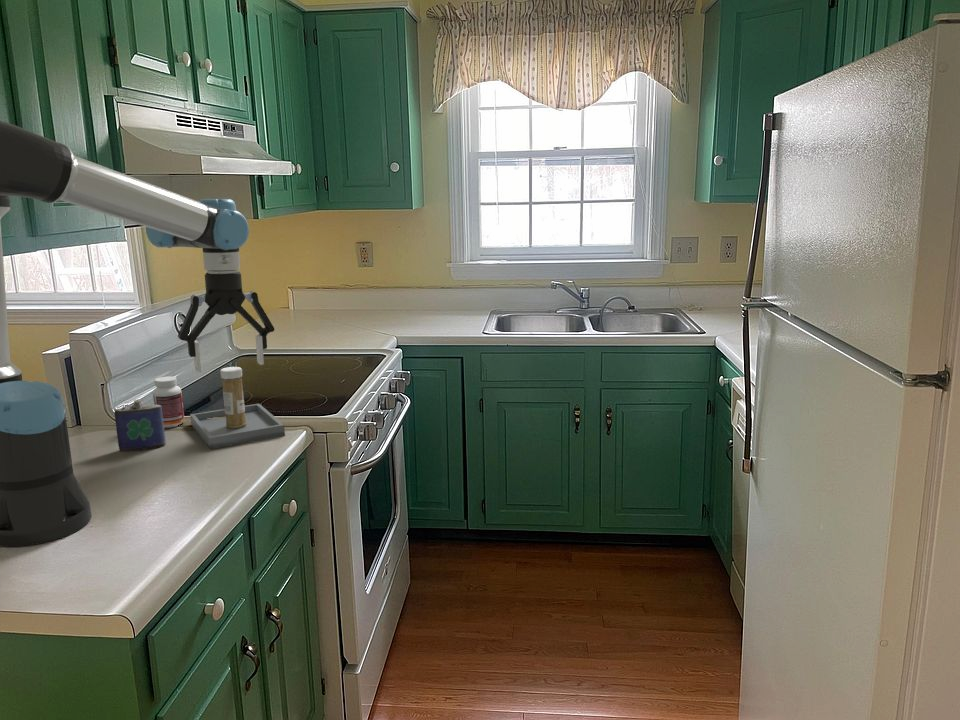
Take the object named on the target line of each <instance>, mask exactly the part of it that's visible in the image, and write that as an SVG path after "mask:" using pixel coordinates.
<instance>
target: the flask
mask: <svg viewBox="0 0 960 720" xmlns="http://www.w3.org/2000/svg"><path fill="white" fill-rule="evenodd" d="M141 402H142V399H135V400H133V403H134V404H133V405H131V406H130V405H126V406H125V405H123V406H122V407H120V408H117V409H115V410H114V421H115V427H116V429H115V430H116V437H117V443H118V445H117V446H118V450H119V452H120V453H121V452H122V453H126V452H127V453H128V452H137V451H142V450H149V449H150V450H152V449H155V448H156V449H157V448H160V447H161V448H163V447H165V446H166V444H167V441H166V433H165V428H164V424H163V416H162V406H161V405H154V404H151V405H144V406H142V404H141Z"/></svg>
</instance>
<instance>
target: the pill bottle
mask: <svg viewBox="0 0 960 720" xmlns="http://www.w3.org/2000/svg"><path fill="white" fill-rule="evenodd" d="M177 384H178V380H177V377H176V376H173V375H172V376H161V377H157V378H155V379H154V385H155V388H154V389H153V391H152V398H153V405H161V406H162V416H163V424H164V429H170V428H176V427H179V426H180V425H179V424H180V422H181V420H182V419H183V418H184V419H185V412H184V403H183V401H184V400H183V394H182V393H183V392H182V389H181V387H180V386H178V385H177ZM178 425H179V426H178Z"/></svg>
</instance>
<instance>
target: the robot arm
mask: <svg viewBox="0 0 960 720" xmlns="http://www.w3.org/2000/svg"><path fill="white" fill-rule="evenodd" d="M10 197H17V198H18V197H19V198H26V199H27V198H28V199H32V200H33V199H34V200H37V201H40V202H44V203H47V204H55V203H57V202H60V201H61V202H65V203H68V204H71V205H75V206H78V207H81V208H84V209H88V210H90V211H94V212H97V213H99V214H100V213H101V214H104V215H107V216H110V217H114V218H117V219H120V220H123V221H127V222H130V223H133V224H134V225H138V226H142V227H144V228H145V234H146V237H147V239H148V241H149V243H151V244H152V246H154V247H156V248H168V249H171V248H179V247H181V248H193V249H194V248H195V249H197V248H198V249H202V259H203V270H204V271H206V273H205V274H204V283H205V294H204V296H197V295H195V294H192V295H191V296H190V305H189V308H188V311H187V313H186V316H185V317H184V320H183V322H182V325H181V327H180V330H179V331H178V334H177V338H178V339H179V340H180V341H184V342H187V349H188V350H187V351H188V353H187V354H188V356H190V357H191V358H193V360H194V370H195V372H197V373H202V367H201V366H202V365H201V364H202V363H201V353H200V352H201V351H200V343H199V341H198V340H197V339H198V337H199V336H200V334H202V332H203V331H204V330H205V328H206V327H207V326H208V324H209V322H210V321H211V320H212V319H213V318H214V317H215V316H216V315H219V316H224V315H235V314H236V313H237V314H239V315H240V316H241V317H242V318H243V319H244V320H245V321H246V322H247V323H248V324H249V325H250V326H251V327H253V329H254V330H255V331H256V332H257V333H258V334H255V346H256V349H255V350H256V363H257V364H259V365H260V366H263V365H265V360H264V359H265V358H264V350H267V347H268V342H267V341H268V340H267V339H268V338H267V336H268V334H270V333H273V332H274V331H275V327H274V325H273V324H272V322H271V320H270V318H269V317H268V315H267V313H266V311H265V309H264V308H263V306H262V305H261V303H260V301H259V296H258V295H259V294H258V293H257V292H256V291H252V290H251V291H249V292H248V293H247V292H246V293H244V292H243V282H242V273H241V272H240V271H239V270H240V269H241V268H242V267H241V258H240V257H241V256H240V248H241V247H243V246H244V245H245V243H246V242H247V241H248V238H249V233H250V226H249V223H248V221H247V219H246V217H245V216H244V215H243V214H242V213H241V212H240V211H238V210H237V205H236V202H235V201H234V200H233V199H230V198H201V199H199V200H195V199H193V198H190V197H187V196H184V195H182V194H179V193H176V192H175V191H171V190H168V189H165V188H163V187H160V186H158V185H154V184H152V183H149V182H147V181H144V180H141V179H138V178H135V177H133V176H130V175H128V174H125V173H123V172H120V171H117V170H116V169H115V170H114V169H111V168H109V167H108V166H107V167H106V166H104V165H101V164H98V163H96V162H93V161H90V160H87V159H86V158H85V159H84V158H82V157H79V156H76V155H74V154H73V150H71V148H70V147H69V146H68V145H66V144H63V143H60V142H57V141H55V140H52V139H50V138H48V137H46V136H42V135H40V134H38V133H35V132H33V131H30V130H28V129H25V128H22V127H20V126H17V125H15V124H12V123H9V122H6V121H3V120H0V547H25V546H26V547H27V546H33V545H38V544H44V543H47V542H51V541H55V540H57V539H61V538H64V537H66V536H69V535H70V534H71V535H72V534H73V533H75V532H77V531H79V530H80V529H82V528H84V527H85V526H86V525H87V524H89V522H91V520H92V509H91V503H90V501H89V499H88V497H87V496H86V493H85V492H84V490H83V488H82V487H81V484H80V483H79V481H78V480H77V478H76V476H75V473H74V468H73V460H72V459H73V458H72V451H71V446H70V439H69V438H70V437H69V430H68V424H67V423H68V422H67V417H66V416H67V410H66V405H65V404H64V400H63V396H62V393H61V392H60V390H59V389H58V388H57V387H56V386H54V385H52V384H50V383H47V382H44V381H36V380H35V381H29V380H23V374H22V369H20V368H19V367H18V366H17V365H15V364H14V363H13V362H12V361H11V351H10V349H11V348H10V336H9V324H8V309H7V308H8V307H7V295H6V292H7V291H6V280H5V266H4V265H5V264H4V253H3V251H4V250H3V239H2V237H3V236H2V224H1V223H2V222H1V220H2V219H3V218H2V217H4V216H5V215H6V214H7V213H8V212H9V211H10V210H11V200H10ZM245 299H246V300H247V302H249V303H250V304H251V305H252V308H253V309H254V310H255V312H256V314H257V316H258V318H259V319H260V320H261V322H262V324H263V325H264V327H263V326H262V325H261V324H260V323H259V322H258V321H257V320H255V319H254V317H252V316H251V315H250V313H249V312H248V311H247V310H246V309H245V308H244V307H243V306H242V305H243V303H244V302H245ZM204 302H205V304H206V306H208V308H207V309H206V310H205V312H204V314H203V315H202V317H201V318H200V319H199V320H198V322H197V323H196V324H195V326H194V327H193V329H192V330H191V331H190V329H191V327H192V325H193V323H194V321H195V317H196V315H197V313H198V310H199V307H202V306H203V303H204ZM189 332H190V333H189Z"/></svg>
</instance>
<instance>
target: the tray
mask: <svg viewBox="0 0 960 720" xmlns="http://www.w3.org/2000/svg"><path fill="white" fill-rule="evenodd" d="M189 415H190V425H191V424H192V425H191V427H192V428H193V429H194V430H195V432H197V433H196V434H198V436H199V437H200V438H201V440H202V441H203V442H204V443H205V445H206V446H207V447H208V448H209V449H210V450H214V449H219V448H226V447H230V446H237V445H242V444H246V443H252V442H253V443H254V442H258V441H263V440H269V439H274V438H280V437H285V436H286V430H285V424H284V423H283V422H281V421H280V420H279V419H278V418H277V417H275V415H273V414H272V412H270V411H268V410H267V408H265V407H264V406H263V405H262V404H261V403H255V404H254V403H253V404H249V405H245V418H246V423H247V424H246V425H245V426H244V427H241V428H235V429H232V428H228V427H226V414H225V408H223V409H216V410H211V411H210V410H208V411H205V412H198V413H192V414H189ZM213 417H224V418H225V419H207V418H213ZM248 418H249V419H248Z"/></svg>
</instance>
